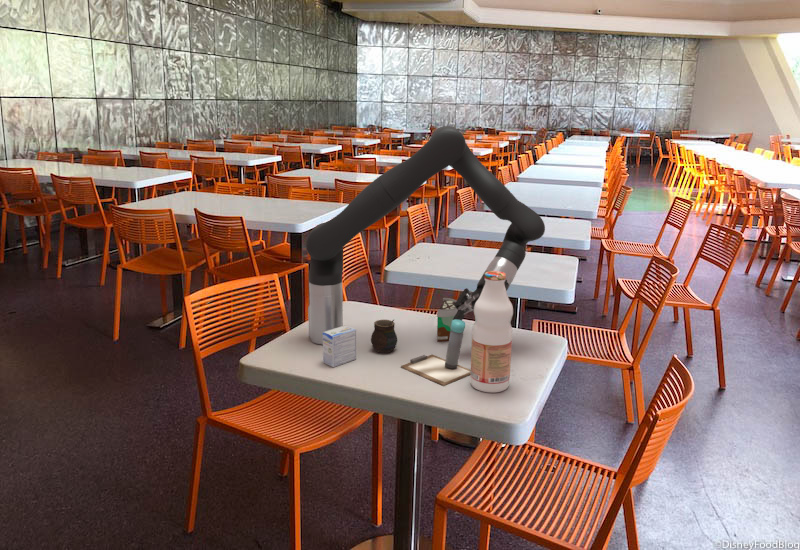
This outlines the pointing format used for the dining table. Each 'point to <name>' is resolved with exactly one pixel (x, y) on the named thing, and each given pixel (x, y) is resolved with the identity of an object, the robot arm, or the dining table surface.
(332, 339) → the medicine box
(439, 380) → the clipboard
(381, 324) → the mate gourd
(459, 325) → the ball
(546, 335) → the dining table surface
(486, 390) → the fruit juice
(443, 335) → the food container
